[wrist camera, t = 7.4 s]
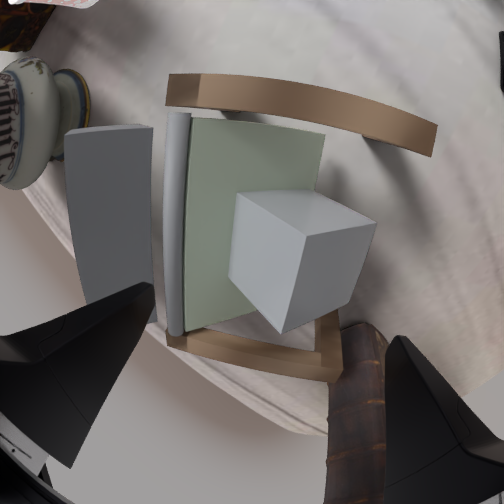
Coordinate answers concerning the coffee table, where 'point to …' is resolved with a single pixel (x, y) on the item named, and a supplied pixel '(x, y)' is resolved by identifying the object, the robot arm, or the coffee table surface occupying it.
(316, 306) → the slate grey block
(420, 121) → the walnut frame
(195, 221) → the trapdoor
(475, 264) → the coffee table surface
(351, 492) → the book
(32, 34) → the candle
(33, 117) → the apothecary jar
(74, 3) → the beverage cup
